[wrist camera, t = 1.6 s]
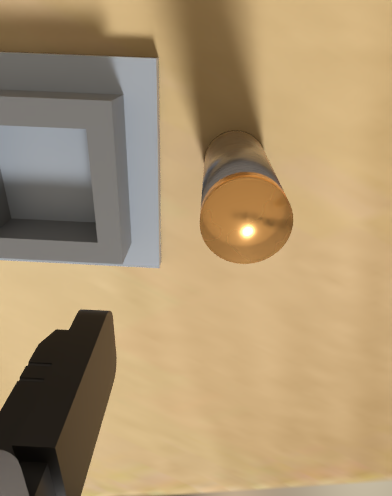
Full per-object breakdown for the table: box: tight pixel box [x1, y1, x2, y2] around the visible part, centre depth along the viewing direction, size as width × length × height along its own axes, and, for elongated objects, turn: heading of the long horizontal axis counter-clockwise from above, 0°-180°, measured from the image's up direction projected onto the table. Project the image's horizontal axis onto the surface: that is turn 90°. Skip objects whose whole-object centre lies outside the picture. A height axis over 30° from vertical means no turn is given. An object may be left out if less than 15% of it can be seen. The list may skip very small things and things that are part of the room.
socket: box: [0, 52, 161, 268], centre depth 24 cm, size 14×14×4 cm
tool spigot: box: [200, 131, 293, 264], centre depth 21 cm, size 4×4×10 cm
